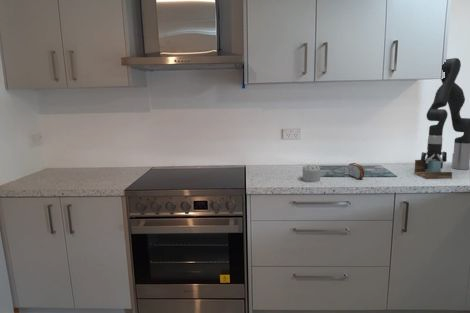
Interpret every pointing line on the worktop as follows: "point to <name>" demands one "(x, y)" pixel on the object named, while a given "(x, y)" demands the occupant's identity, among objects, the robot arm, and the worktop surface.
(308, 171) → the lumpy-topped squat cylinder
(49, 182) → the worktop surface
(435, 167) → the cabinet block
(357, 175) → the grey brown half-round slab
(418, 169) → the wall rack
